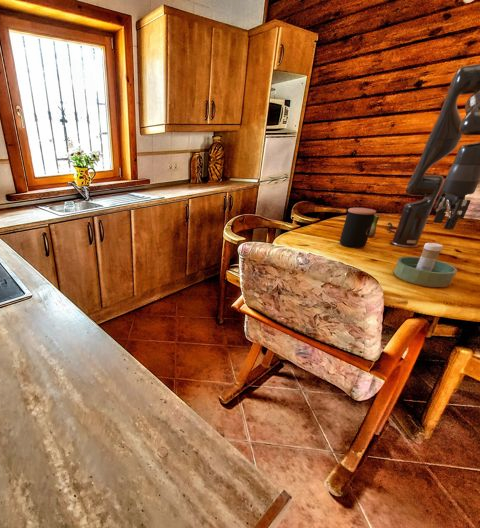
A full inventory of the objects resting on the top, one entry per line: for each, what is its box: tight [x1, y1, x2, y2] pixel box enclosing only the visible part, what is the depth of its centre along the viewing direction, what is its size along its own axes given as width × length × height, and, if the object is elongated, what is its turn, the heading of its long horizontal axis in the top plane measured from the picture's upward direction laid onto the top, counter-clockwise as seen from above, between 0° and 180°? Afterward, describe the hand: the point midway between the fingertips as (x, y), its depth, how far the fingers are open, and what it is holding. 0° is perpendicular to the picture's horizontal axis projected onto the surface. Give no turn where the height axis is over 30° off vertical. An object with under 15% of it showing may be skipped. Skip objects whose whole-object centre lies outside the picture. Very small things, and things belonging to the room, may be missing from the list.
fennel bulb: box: [368, 214, 380, 238], centre depth 148 cm, size 6×5×12 cm
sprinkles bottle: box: [416, 242, 444, 272], centre depth 103 cm, size 5×5×14 cm
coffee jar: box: [339, 207, 377, 249], centre depth 137 cm, size 11×11×18 cm
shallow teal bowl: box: [392, 256, 458, 288], centre depth 105 cm, size 16×16×6 cm
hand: (442, 225), depth 98 cm, fingers open, 8 cm apart
